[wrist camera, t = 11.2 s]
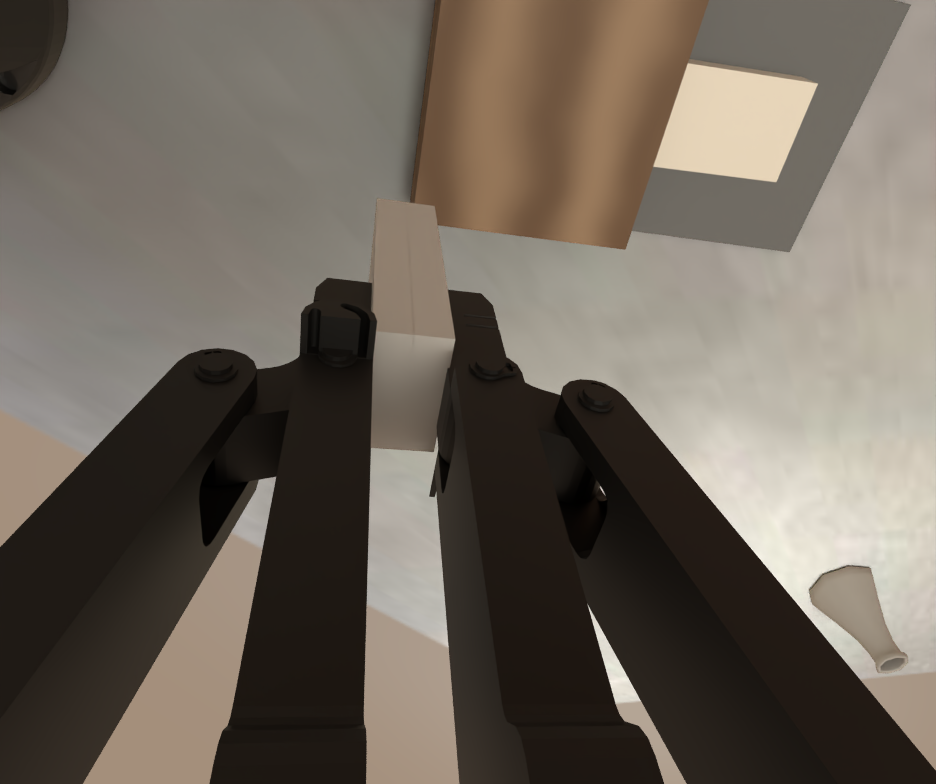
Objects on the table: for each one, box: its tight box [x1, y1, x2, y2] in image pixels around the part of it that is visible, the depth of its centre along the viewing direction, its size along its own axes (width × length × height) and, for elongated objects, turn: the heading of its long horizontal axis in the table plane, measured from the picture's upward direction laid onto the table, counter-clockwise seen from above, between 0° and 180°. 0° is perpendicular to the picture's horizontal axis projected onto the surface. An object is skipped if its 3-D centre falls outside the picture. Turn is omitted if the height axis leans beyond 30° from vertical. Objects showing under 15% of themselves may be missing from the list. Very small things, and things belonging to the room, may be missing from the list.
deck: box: [410, 0, 709, 249], centre depth 39 cm, size 14×16×4 cm
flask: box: [810, 566, 908, 673], centre depth 71 cm, size 7×7×10 cm
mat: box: [632, 0, 911, 252], centre depth 43 cm, size 14×16×1 cm
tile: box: [653, 59, 818, 182], centre depth 41 cm, size 9×6×2 cm, turn 82°
